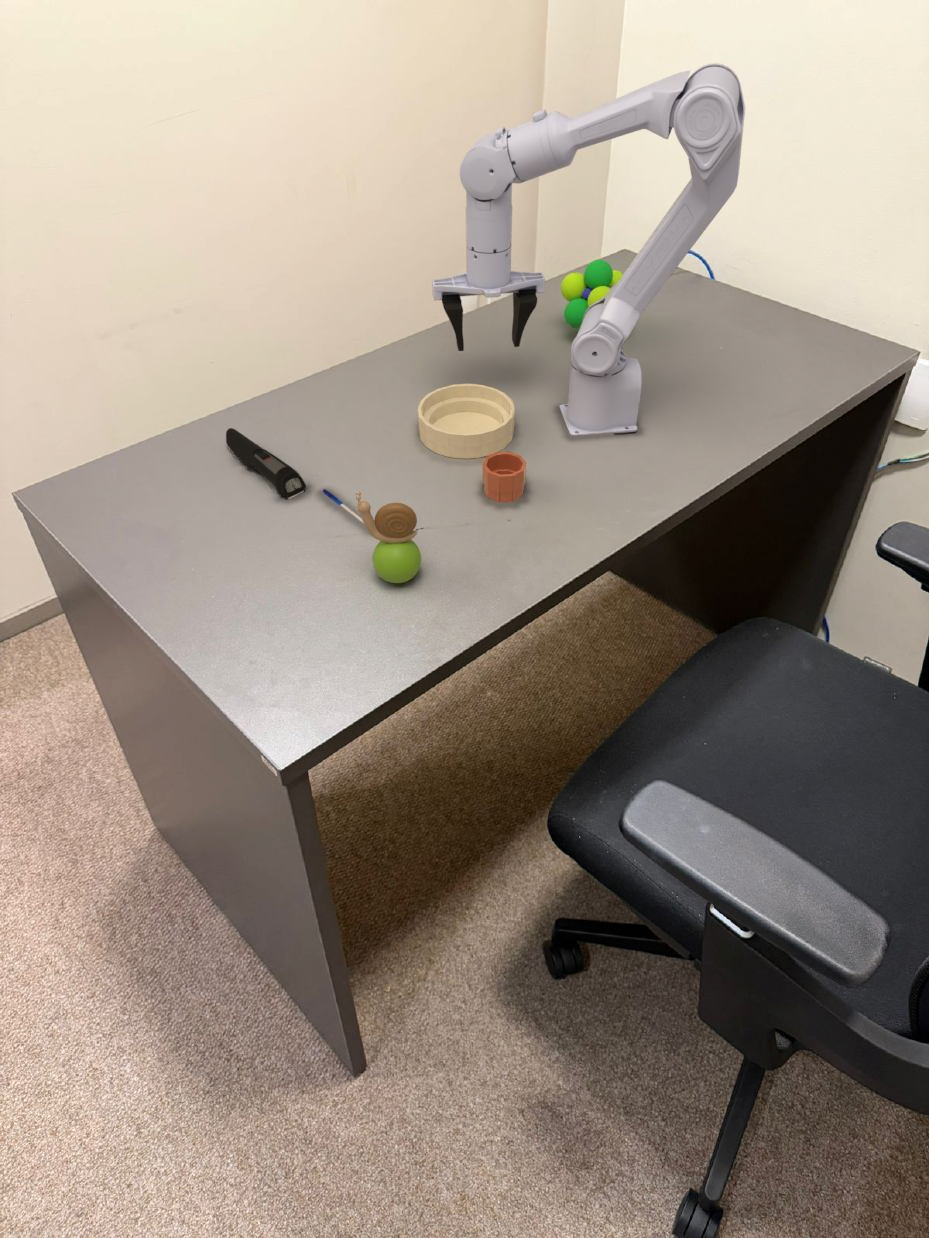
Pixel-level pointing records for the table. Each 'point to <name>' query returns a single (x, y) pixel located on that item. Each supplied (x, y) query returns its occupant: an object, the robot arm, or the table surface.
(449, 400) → the cream bowl
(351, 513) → the ballpoint pen
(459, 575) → the table surface
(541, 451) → the table surface
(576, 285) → the molecule model
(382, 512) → the snail figurine
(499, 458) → the terracotta pot
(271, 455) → the electric trimmer
